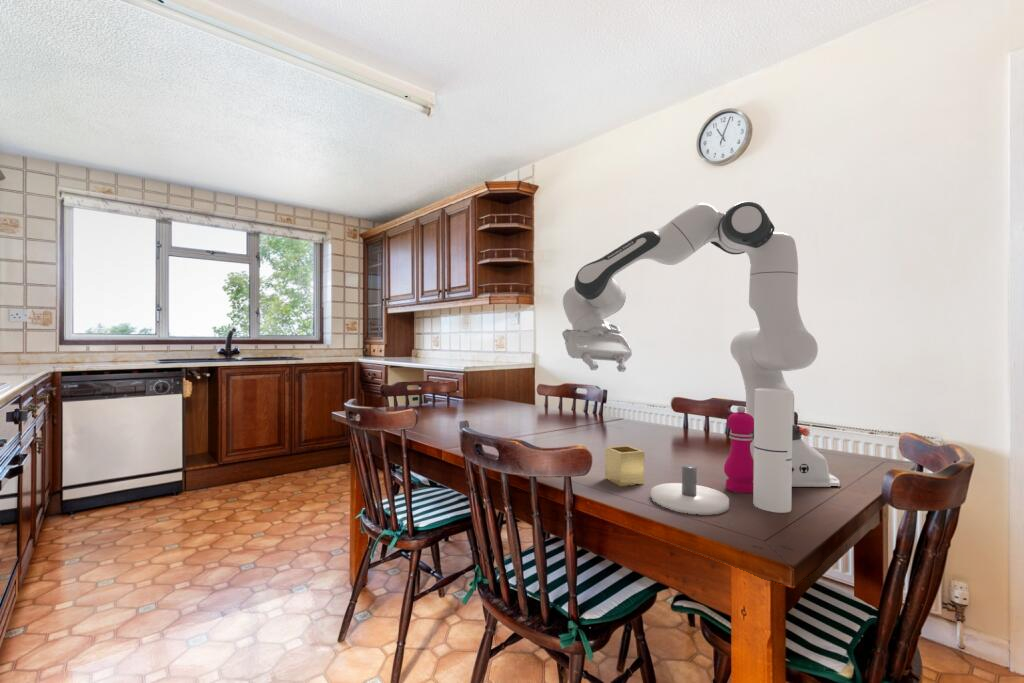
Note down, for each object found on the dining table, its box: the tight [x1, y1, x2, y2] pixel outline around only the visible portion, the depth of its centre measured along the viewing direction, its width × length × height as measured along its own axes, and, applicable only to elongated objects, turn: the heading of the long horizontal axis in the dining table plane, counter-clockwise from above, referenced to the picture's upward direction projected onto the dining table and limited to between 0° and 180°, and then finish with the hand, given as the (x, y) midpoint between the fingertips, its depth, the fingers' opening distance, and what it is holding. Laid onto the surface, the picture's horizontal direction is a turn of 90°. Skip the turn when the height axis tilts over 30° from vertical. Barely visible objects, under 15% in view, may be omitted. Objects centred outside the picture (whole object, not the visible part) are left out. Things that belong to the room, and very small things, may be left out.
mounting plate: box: [650, 464, 730, 516], centre depth 102 cm, size 16×16×8 cm
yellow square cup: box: [604, 444, 645, 487], centre depth 116 cm, size 7×7×8 cm
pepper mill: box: [723, 405, 754, 494], centre depth 110 cm, size 7×7×20 cm
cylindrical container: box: [752, 388, 794, 514], centre depth 99 cm, size 7×7×25 cm
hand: (609, 369), depth 124 cm, fingers open, 8 cm apart
